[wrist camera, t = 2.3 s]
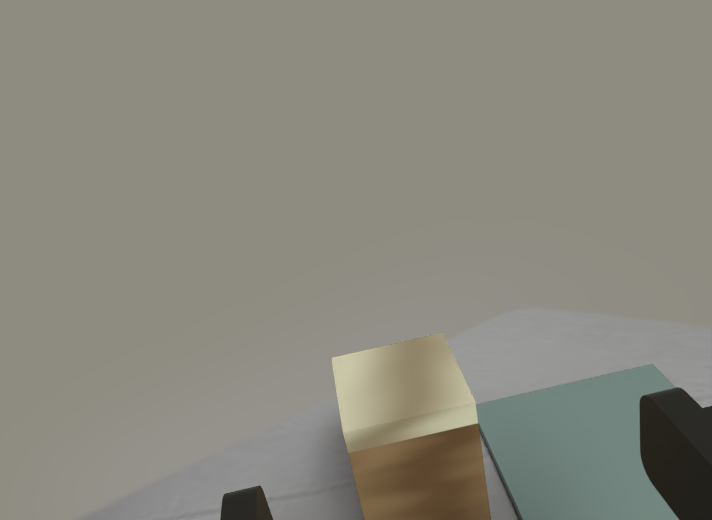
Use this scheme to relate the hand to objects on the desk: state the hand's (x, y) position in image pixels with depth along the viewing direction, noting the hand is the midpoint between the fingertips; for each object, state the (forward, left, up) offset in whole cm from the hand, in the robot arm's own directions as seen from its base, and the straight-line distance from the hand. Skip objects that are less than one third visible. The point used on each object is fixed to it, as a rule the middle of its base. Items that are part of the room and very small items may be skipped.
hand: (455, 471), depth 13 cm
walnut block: (0, +11, -18) cm, 21 cm away
